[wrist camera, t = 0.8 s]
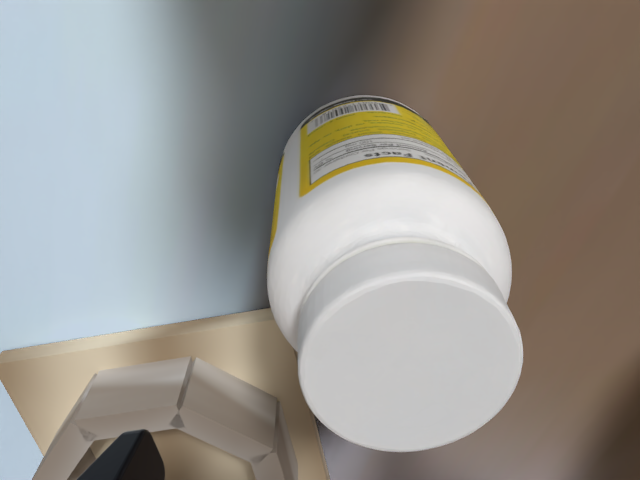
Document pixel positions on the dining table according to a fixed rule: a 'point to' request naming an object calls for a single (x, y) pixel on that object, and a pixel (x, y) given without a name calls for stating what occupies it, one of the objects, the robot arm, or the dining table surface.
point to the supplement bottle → (390, 279)
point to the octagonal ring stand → (172, 399)
